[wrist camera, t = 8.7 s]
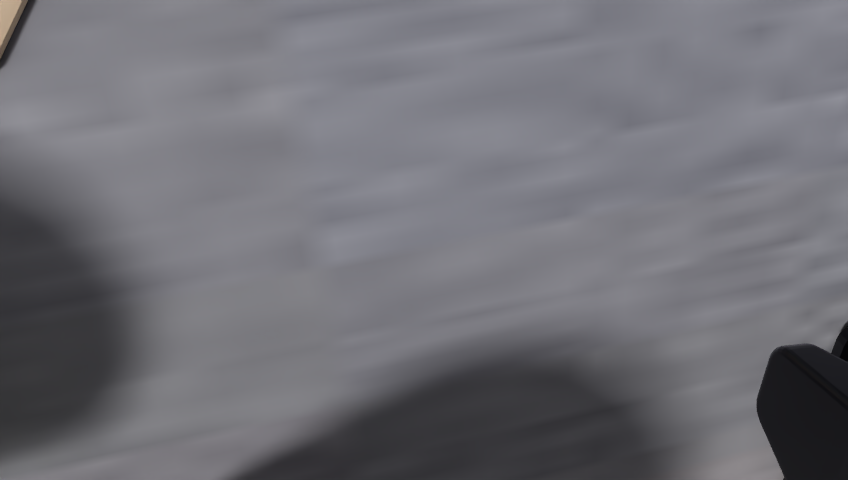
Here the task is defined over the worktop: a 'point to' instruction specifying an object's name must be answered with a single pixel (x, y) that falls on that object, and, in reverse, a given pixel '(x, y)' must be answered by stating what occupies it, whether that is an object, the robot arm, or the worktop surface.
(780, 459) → the robot arm
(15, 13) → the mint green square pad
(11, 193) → the worktop surface
